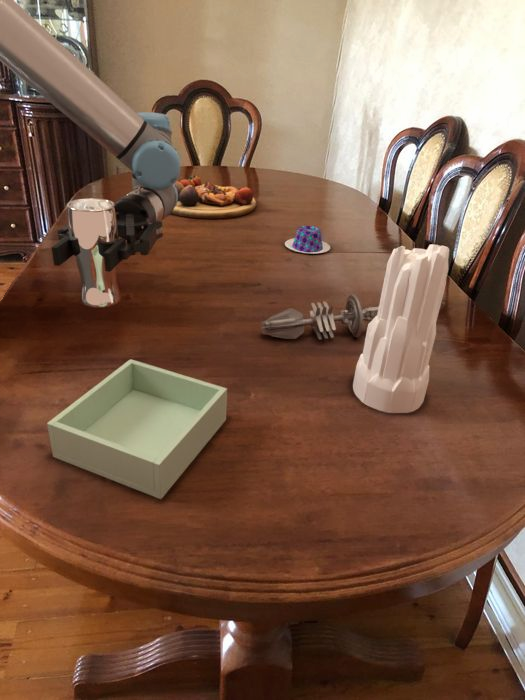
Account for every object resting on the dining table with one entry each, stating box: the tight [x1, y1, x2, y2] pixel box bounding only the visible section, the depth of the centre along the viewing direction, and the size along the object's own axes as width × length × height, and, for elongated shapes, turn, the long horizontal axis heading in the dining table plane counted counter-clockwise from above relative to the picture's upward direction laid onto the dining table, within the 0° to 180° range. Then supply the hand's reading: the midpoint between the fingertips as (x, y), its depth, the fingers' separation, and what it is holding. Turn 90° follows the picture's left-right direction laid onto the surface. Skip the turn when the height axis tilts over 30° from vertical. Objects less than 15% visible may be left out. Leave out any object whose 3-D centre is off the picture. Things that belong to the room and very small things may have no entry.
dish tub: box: [46, 358, 228, 500], centre depth 68 cm, size 16×17×6 cm
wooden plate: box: [170, 174, 257, 220], centre depth 165 cm, size 32×32×8 cm
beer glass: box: [66, 197, 122, 308], centre depth 79 cm, size 7×7×15 cm
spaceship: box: [260, 293, 447, 340], centre depth 96 cm, size 8×35×8 cm
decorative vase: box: [352, 243, 450, 414], centre depth 75 cm, size 11×11×25 cm
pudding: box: [284, 225, 331, 255], centre depth 136 cm, size 12×12×5 cm
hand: (81, 259), depth 74 cm, fingers closed on beer glass, 7 cm apart
